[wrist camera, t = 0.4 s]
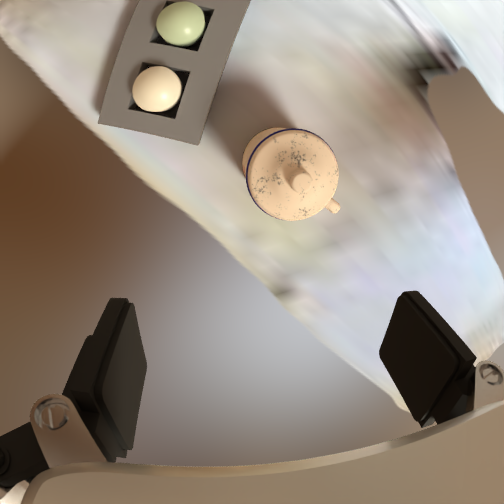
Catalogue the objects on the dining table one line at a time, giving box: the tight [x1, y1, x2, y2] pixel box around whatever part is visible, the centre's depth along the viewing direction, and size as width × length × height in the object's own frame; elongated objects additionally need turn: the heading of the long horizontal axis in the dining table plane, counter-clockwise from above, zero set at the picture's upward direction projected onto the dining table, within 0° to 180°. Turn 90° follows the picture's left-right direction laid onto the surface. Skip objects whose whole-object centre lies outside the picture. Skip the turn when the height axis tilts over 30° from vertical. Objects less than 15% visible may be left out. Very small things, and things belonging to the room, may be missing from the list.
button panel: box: [98, 0, 251, 145], centre depth 26 cm, size 26×12×3 cm, turn 162°
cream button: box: [132, 66, 183, 112], centre depth 28 cm, size 5×5×3 cm
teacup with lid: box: [242, 128, 340, 221], centre depth 31 cm, size 12×9×12 cm
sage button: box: [156, 2, 205, 47], centre depth 25 cm, size 5×5×3 cm
